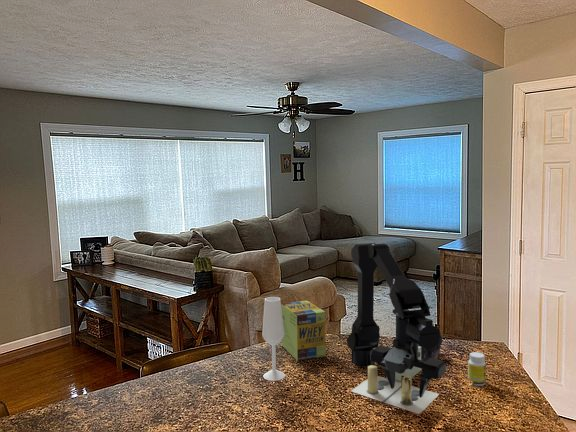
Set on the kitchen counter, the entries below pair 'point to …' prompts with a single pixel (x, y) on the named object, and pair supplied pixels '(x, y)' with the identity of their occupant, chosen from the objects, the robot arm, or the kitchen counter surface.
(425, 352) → the black rough lump
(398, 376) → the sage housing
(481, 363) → the supplement bottle
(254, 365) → the kitchen counter surface
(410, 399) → the brass pin
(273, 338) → the champagne flute
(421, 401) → the board
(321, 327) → the protein box
